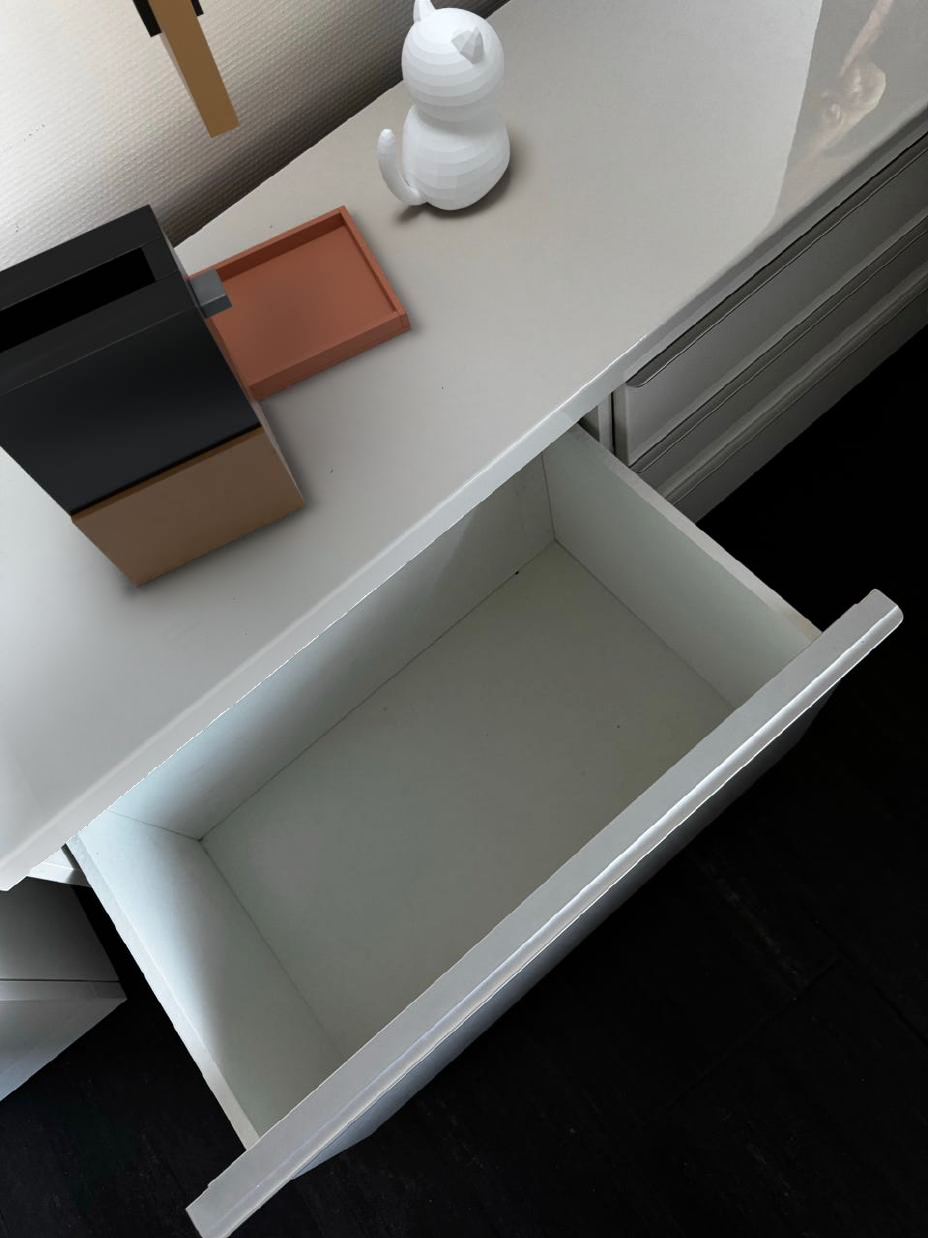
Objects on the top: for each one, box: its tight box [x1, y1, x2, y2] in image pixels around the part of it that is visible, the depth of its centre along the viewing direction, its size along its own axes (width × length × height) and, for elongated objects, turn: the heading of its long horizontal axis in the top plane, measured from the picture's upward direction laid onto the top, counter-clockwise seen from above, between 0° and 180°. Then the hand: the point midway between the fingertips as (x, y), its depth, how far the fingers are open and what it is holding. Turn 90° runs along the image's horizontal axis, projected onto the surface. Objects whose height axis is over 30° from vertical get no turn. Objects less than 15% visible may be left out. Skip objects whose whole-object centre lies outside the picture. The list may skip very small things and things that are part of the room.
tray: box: [188, 204, 412, 402], centre depth 84 cm, size 15×13×2 cm
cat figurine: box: [376, 0, 511, 211], centre depth 82 cm, size 9×12×15 cm
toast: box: [148, 0, 241, 139], centre depth 61 cm, size 10×2×10 cm, turn 25°
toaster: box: [0, 203, 307, 587], centre depth 69 cm, size 16×10×22 cm, turn 115°
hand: (170, 11), depth 61 cm, fingers closed on toast, 2 cm apart
